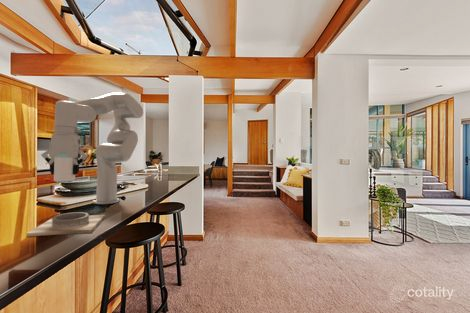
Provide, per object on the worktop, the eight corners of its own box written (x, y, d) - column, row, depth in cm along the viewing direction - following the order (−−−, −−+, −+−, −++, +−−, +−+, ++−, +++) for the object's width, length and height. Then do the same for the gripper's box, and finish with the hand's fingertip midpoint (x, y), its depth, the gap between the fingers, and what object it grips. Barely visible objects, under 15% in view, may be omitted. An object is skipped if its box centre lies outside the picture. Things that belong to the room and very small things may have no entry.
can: (65, 183, 89) (66, 153, 89) (49, 182, 89) (49, 152, 89) (79, 181, 96) (79, 153, 96) (63, 180, 96) (64, 152, 96)
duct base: (53, 219, 88) (53, 210, 88) (104, 217, 94) (104, 209, 93) (26, 236, 71) (26, 225, 71) (91, 232, 76) (91, 222, 76)
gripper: (92, 133, 98) (91, 173, 99) (45, 130, 93) (44, 173, 94) (86, 132, 91) (85, 175, 91) (35, 129, 86) (34, 174, 86)
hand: (64, 173), depth 92 cm, fingers closed on can, 7 cm apart
